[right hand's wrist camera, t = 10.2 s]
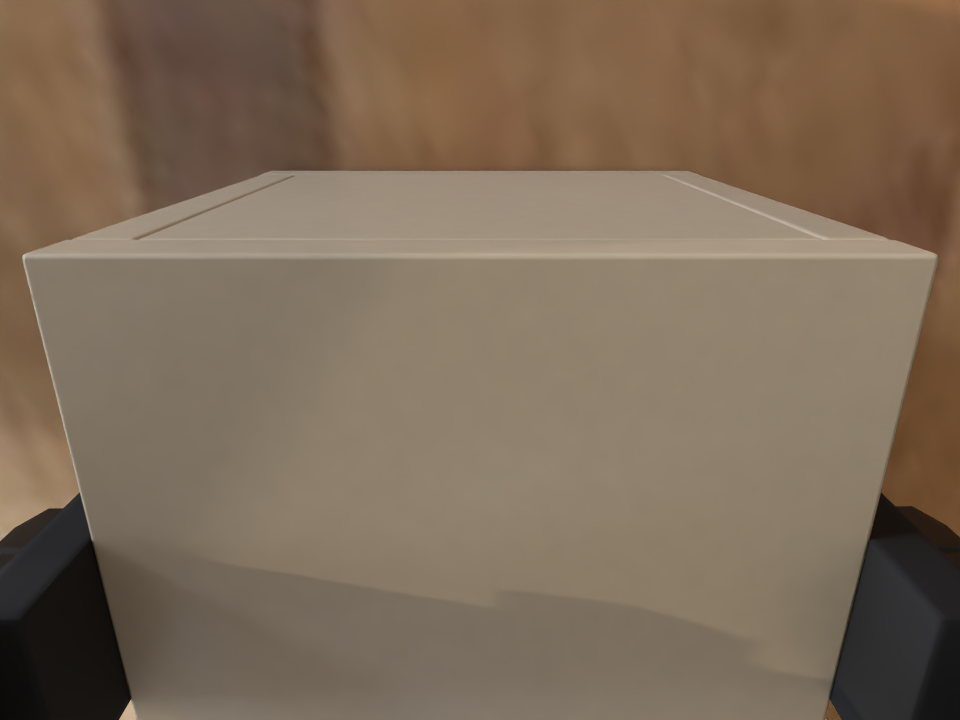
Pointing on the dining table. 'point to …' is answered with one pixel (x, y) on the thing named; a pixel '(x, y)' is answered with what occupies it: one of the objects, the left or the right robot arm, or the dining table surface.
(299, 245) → the cabinet
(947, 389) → the dining table surface
